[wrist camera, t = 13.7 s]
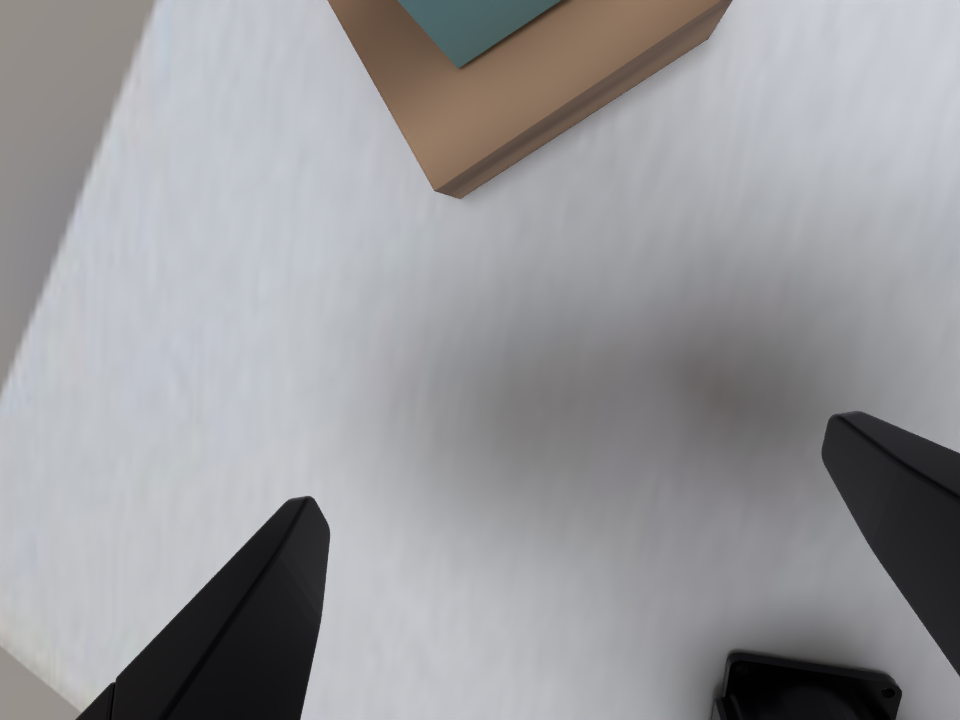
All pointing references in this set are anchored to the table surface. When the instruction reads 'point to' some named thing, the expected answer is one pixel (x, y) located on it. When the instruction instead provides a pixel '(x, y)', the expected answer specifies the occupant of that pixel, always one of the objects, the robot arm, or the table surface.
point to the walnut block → (515, 76)
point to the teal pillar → (472, 22)
